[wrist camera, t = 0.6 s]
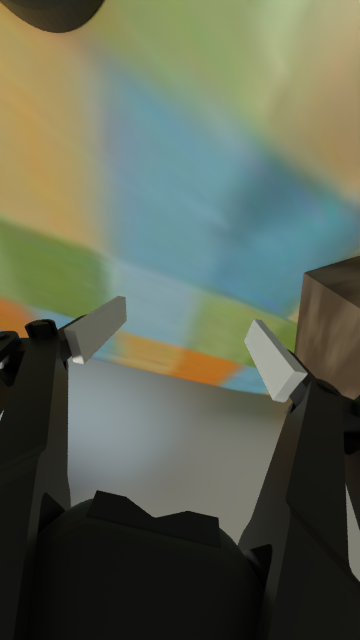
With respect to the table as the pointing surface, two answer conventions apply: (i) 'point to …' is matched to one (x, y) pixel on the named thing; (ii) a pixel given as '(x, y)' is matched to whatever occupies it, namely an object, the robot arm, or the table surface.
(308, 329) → the wooden block with lid
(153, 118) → the table surface
